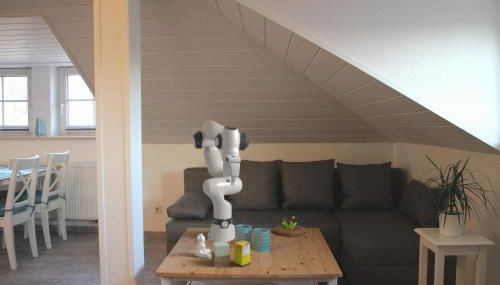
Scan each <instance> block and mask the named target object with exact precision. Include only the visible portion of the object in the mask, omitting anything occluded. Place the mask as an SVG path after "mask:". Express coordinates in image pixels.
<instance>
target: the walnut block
mask: <svg viewBox="0 0 500 285" xmlns="http://www.w3.org/2000/svg"><path fill="white" fill-rule="evenodd" d="M211 263H212V265H213V267H214V268H215V267H225V266H231V254H230V253H229V256H217V257H215V255H214V252H213V251H211Z"/></svg>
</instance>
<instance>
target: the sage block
mask: <svg viewBox="0 0 500 285" xmlns="http://www.w3.org/2000/svg"><path fill="white" fill-rule="evenodd" d="M212 242H213V243H212V244H213V245H212V246H213V248H212V249H213V251H212V252H214V255H215V257H217V256H229V254H230V244H229V243H228V242H229V241H228V242H227V241H224V242H215V241H212Z"/></svg>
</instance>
